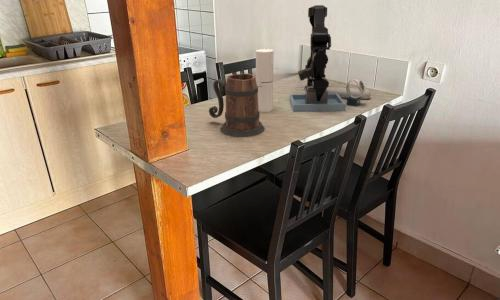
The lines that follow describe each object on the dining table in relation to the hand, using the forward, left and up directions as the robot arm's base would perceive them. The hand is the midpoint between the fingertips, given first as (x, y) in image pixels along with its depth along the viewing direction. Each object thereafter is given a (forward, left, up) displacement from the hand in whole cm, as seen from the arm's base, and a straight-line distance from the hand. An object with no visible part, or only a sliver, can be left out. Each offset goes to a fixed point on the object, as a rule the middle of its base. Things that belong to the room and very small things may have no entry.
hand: (316, 97), depth 163 cm
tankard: (+25, -35, -4) cm, 43 cm away
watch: (-1, +17, -4) cm, 17 cm away
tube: (-11, +14, -4) cm, 19 cm away
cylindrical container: (+4, -23, -4) cm, 24 cm away
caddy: (0, 0, -3) cm, 3 cm away
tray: (0, 0, -4) cm, 4 cm away
